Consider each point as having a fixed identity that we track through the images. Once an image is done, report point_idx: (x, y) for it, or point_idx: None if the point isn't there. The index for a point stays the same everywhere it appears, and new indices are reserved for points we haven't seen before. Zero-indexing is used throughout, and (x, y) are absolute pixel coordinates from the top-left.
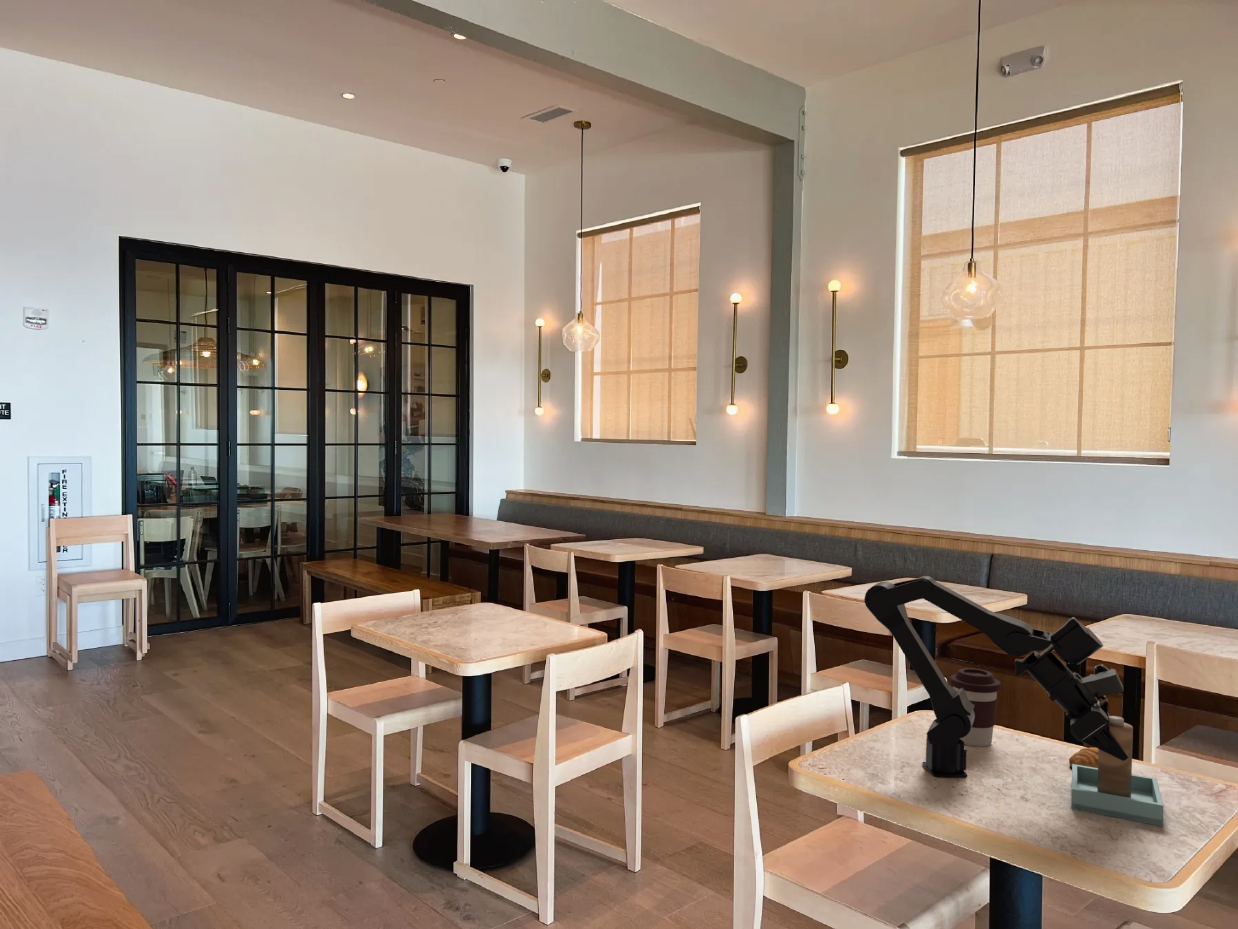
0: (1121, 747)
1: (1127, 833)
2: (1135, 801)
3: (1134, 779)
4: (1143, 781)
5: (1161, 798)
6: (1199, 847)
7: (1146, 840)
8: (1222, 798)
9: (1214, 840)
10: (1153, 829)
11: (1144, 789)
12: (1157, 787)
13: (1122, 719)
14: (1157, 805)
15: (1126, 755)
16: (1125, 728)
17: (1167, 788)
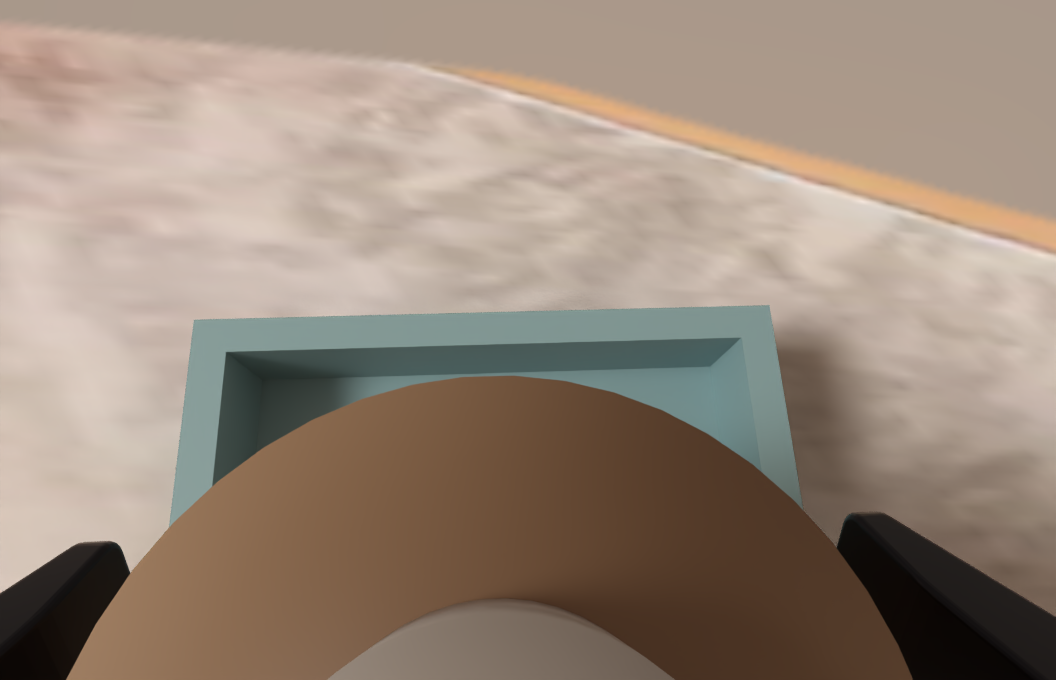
0: (1021, 612)
1: (966, 531)
2: (792, 475)
3: (222, 475)
4: (231, 414)
5: (635, 310)
6: (885, 208)
7: (989, 435)
8: (91, 54)
9: (744, 143)
10: (799, 396)
11: (255, 418)
12: (411, 324)
13: (558, 667)
14: (771, 341)
15: (910, 532)
16: (722, 550)
17: (34, 294)
